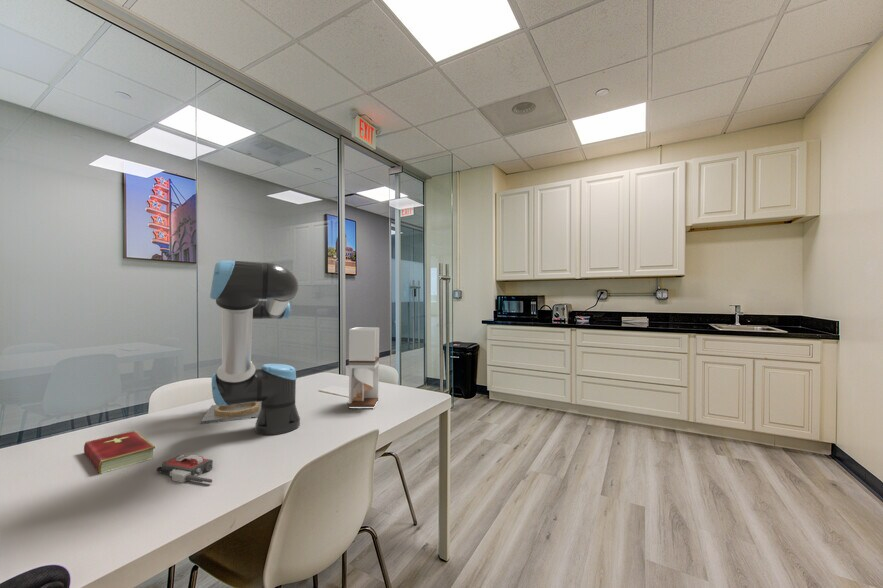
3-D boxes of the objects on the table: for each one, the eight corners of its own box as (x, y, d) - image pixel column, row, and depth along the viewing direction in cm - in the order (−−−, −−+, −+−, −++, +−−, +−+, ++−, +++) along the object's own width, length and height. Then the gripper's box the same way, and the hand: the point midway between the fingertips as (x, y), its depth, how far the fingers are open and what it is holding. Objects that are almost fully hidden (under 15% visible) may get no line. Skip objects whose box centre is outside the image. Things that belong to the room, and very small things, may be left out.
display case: (348, 408, 152) (349, 329, 153) (353, 401, 163) (355, 327, 163) (374, 409, 152) (375, 329, 153) (378, 402, 163) (379, 327, 164)
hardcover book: (98, 476, 94) (99, 460, 94) (83, 455, 106) (84, 441, 106) (154, 460, 103) (155, 445, 103) (134, 442, 116) (135, 429, 116)
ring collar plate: (265, 416, 141) (265, 410, 141) (200, 423, 132) (200, 417, 132) (267, 401, 161) (267, 396, 161) (211, 407, 152) (211, 401, 152)
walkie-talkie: (147, 478, 93) (207, 489, 88) (148, 461, 93) (208, 471, 88) (179, 463, 101) (235, 472, 96) (179, 448, 101) (236, 456, 97)
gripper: (232, 329, 156) (231, 379, 156) (224, 334, 135) (223, 391, 135) (251, 329, 159) (250, 377, 159) (246, 334, 138) (245, 389, 138)
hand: (238, 384), depth 147 cm, fingers closed on tape roll, 10 cm apart
